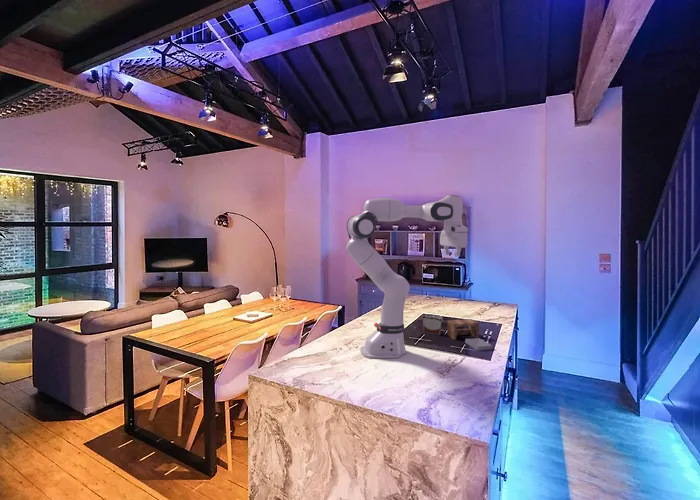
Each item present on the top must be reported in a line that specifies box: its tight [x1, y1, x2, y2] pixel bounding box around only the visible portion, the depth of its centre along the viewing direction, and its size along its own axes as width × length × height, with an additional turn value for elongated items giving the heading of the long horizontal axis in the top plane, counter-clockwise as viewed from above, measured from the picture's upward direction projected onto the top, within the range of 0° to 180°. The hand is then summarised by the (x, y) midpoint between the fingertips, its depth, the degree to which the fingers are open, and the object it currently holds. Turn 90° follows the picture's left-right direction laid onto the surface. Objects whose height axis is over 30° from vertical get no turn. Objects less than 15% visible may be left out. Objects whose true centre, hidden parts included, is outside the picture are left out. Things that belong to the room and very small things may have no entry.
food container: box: [421, 313, 444, 336], centre depth 211 cm, size 12×6×10 cm, turn 58°
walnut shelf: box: [446, 318, 480, 340], centre depth 204 cm, size 15×8×8 cm, turn 102°
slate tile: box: [464, 337, 493, 351], centre depth 189 cm, size 8×12×2 cm, turn 12°
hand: (452, 255), depth 182 cm, fingers open, 8 cm apart
